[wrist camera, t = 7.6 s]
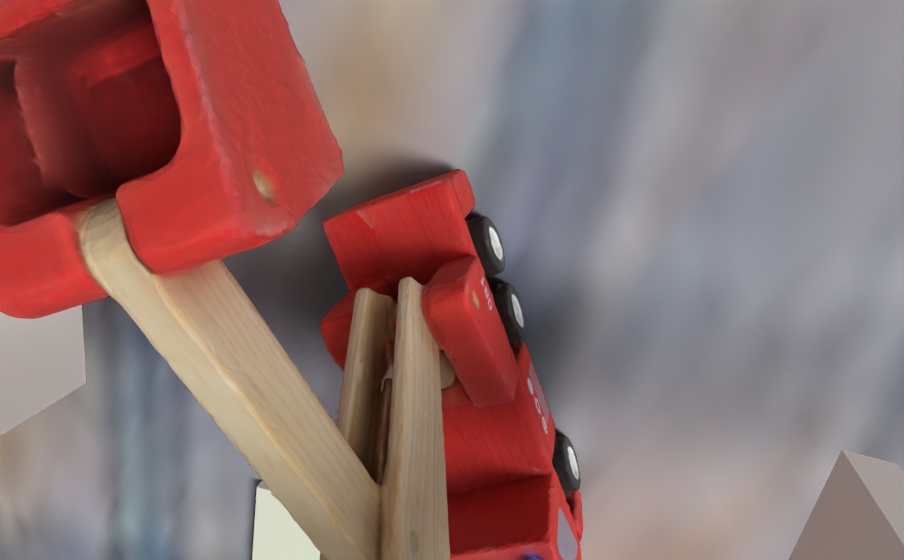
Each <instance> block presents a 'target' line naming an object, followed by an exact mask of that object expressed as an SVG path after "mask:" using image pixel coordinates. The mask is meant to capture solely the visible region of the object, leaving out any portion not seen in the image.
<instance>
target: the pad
mask: <svg viewBox="0 0 904 560" xmlns="http://www.w3.org/2000/svg"><path fill="white" fill-rule="evenodd" d="M252 560H320V551H319V550H318V549H317V548H316V547H315V546H314V544H313V543H312V541H311V540H310V538H309V537H308V536H307V535H306V534H305V533H304V532H303V530H302V529H301V528H300V526H299V525H298V524H297V522H295V521H294V520H293V518H292V517H291V515H290V514H289V512H288V511H287V509H286V508H285V507H284V506H283V505H282V504H281V502H280V501H279V500H278V499H276V498H275V497H274V496H272V495H271V491H270V489H269V488H268V487H267V486H266V484H265V482H264V481H261V482H260V484H259V485H258V486H257V492H256V508H255V523H254V539H253V554H252Z"/></svg>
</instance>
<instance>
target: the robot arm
mask: <svg viewBox="0 0 904 560" xmlns="http://www.w3.org/2000/svg"><path fill="white" fill-rule="evenodd" d="M85 383H86V369H85V353H84V336H83V320H82V305H79V306H76V307H73V308H70V309H67V310H64V311H61V312H57V313H54V314H51V315H48V316H44V317H41V318H36V319H24V318H14V317H11V316H8V315H5V314H4V313H2V312H0V436H1V435H3V434H4V433H6V432H8V431H9V430H11V429H12V428H14V427H16V426H17V425H19V424H21V423H22V422H24V421H25V420H27V419H29V418H30V417H32V416H34V415H35V414H37V413H38V412H40V411H42V410H43V409H45V408H47V407H48V406H50V405H51V404H53V403H55V402H56V401H58V400H59V399H61V398H63V397H64V396H66V395H68V394H69V393H71V392H72V391H74V390H76V389H77V388H79V387H81V386H82V385H84V384H85ZM789 560H904V472H903V471H902V470H901V468H900V467H899V466H898V465H897V464H896V463H892V462H888V461H884V460H880V459H876V458H872V457H868V456H865V455H861V454H857V453H853V452H849V451H845V450H842V451H841V453H840V455H839V457H838V459H837V461H836V463H835V466H834V468H833V470H832V472H831V474H830V476H829V478H828V480H827V482H826V484H825V486H824V488H823V490H822V492H821V494H820V496H819V498H818V501H817V503H816V505H815V507H814V509H813V511H812V513H811V515H810V517H809V519H808V521H807V523H806V525H805V527H804V529H803V531H802V533H801V536H800V538H799V540H798V542H797V544H796V546H795V548H794V550H793V552H792V554H791V556H790V558H789Z"/></svg>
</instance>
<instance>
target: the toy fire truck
mask: <svg viewBox="0 0 904 560" xmlns="http://www.w3.org/2000/svg"><path fill="white" fill-rule="evenodd" d="M343 172H344V166H343V162H342V150H341V148H340V147H339V145H338V143H337V140H336V138H335V137H334V135H333V133H332V131H331V129H330V126H329V124H328V122H327V119H326V117H325V114H324V111H323V109H322V107H321V104H320V102H319V100H318V98H317V95H316V93H315V90H314V87H313V84H312V82H311V80H310V77H309V74H308V71H307V68H306V64H305V61H304V60H303V58H302V56H301V55H300V53H299V52H298V50H297V48H296V46H295V43H294V41H293V39H292V36H291V34H290V30H289V26H288V22H287V21H286V19H285V17H284V15H283V13H282V11H281V7H280V4H279V1H278V0H0V312H2V313H4V314H5V315H8V316H11V317H14V318H24V319H36V318H41V317H44V316H48V315H51V314H54V313H57V312H61V311H64V310H67V309H70V308H73V307H76V306H79V305H82V304H85V303H87V302H90V301H96V300H101V299H104V298H105V297H107V296H111V297H113V298H114V299H115V300H116V301H117V302H118V303H119V304H121V306H122V307H123V308H124V309H125V310H126V312H127V313H128V314H129V315H130V316H131V318H132V319H133V320H134V321H135V323H136V324H137V325H138V326H139V328H140V329H141V330H142V332H143V333H144V334H145V335H146V337H147V338H148V340H149V341H150V343H151V344H152V346H153V347H154V348H155V349H156V350H157V351H158V352H159V353H160V354H161V355H162V356H163V358H164V359H165V360H166V361H167V362H168V364H169V365H170V367H171V368H172V369H173V371H174V372H175V373H176V374H177V376H178V377H179V378H180V379H181V381H182V382H183V383H184V384H185V385H186V386H187V388H188V389H189V390H190V391H191V392H192V394H193V395H194V396H195V397H196V399H197V400H198V401H199V403H200V404H201V405H202V407H203V408H204V409H205V410H206V411H207V412H208V413H209V414H210V416H211V417H212V418H213V419H214V421H215V422H216V424H217V425H218V426H219V427H220V428H221V429H222V430H223V431H224V432H225V434H226V435H227V436H228V438H229V439H230V441H231V442H232V444H233V445H234V446H235V447H236V448H237V450H238V451H239V452H240V453H241V454H242V455H243V456H244V457H245V459H246V460H247V462H248V463H249V464H250V465H251V466H252V467H253V468H254V470H255V471H256V473H257V474H258V475H259V477H260V478H261V479H262V480H263V481H264V482H265V484H266V486H267V487H268V488H269V489H270V491H271V495H272V496H274V497H275V498H276V499H278V500H279V501H280V502H281V504H282V505H283V506H284V507H285V508H286V509H287V511H288V512H289V514H290V515H291V517H292V518H293V520H294V521H295V522H297V524H298V525H299V526H300V528H301V529H302V530H303V532H304V533H305V534H306V535H307V536H308V537H309V538H310V540H311V541H312V543H313V544H314V546H315V547H316V548H317V549H318V550H319V551H320V560H581V548H580V540H581V538H582V532H583V519H582V502H581V495H580V493H579V491H578V489H579V488H580V481H581V480H580V471H579V466H578V460H577V457H576V453H575V451H574V448H573V446H572V444H571V442H570V440H569V439H568V437H566V436H558V437H555V434H556V433H555V424H554V421H553V418H552V416H551V413H550V410H549V408H548V403H547V401H546V398H545V395H544V392H543V390H542V387H541V385H540V382H539V379H538V377H537V374H536V370H535V368H534V367H533V363H532V360H531V356H530V353H529V351H528V348H527V346H526V344H525V343H524V342H523V341H522V340H520V339H522V338H524V336H525V332H526V331H525V327H526V324H525V319H524V314H523V310H522V306H521V302H520V298H519V296H518V294H517V292H516V290H515V289H514V287H513V286H512V285H510V284H509V283H502V284H499V283H498V284H496V285H495V286H494V288H493V289H492V291H491V290H490V288H489V285H488V282H487V280H486V277H485V276H492V275H496V274H498V273H501V272H502V271H503V270H504V267H505V258H504V251H503V247H502V243H501V240H500V237H499V234H498V232H497V229H496V227H495V226H494V224H493V223H492V221H491V220H490V219H489V218H488V217H477V218H473V219H470V220H466V221H465V217H466V216H467V215H468V214H469V213H470V211H471V210H472V209H473V208H474V207H475V199H474V195H473V192H472V189H471V186H470V183H469V180H468V178H467V175H466V173H465V171H463V170H460V169H457V170H453V171H450V172H448V173H445V174H443V175H440V176H437V177H434V178H431V179H428V180H425V181H423V182H420V183H417V184H415V185H412V186H409V187H405V188H403V189H400V190H397V191H394V192H391V193H388V194H385V195H382V196H379V197H377V198H374V199H372V200H369V201H366V202H363V203H360V204H357V205H354V206H352V207H350V208H348V209H347V210H344V211H342V212H341V213H339V214H337V215H334V216H330V217H328V218H325V219H324V220H323V223H322V225H323V228H324V231H325V234H326V236H327V238H328V241H329V243H330V245H331V248H332V250H333V252H334V255H335V258H336V260H337V262H338V264H339V267H340V269H341V271H342V274H343V276H344V278H345V281H346V283H347V285H348V288H349V290H350V293H348V294H347V295H346V296H345V297H344V298H343V299H342V300H340V301H339V302H338V303H337V304H335V305H334V306H333V307H332V309H331V310H330V311H329V312H328V313H327V315H326V316H325V317H324V318H323V319H322V320H321V323H320V329H321V334H322V336H323V338H324V342H325V344H326V346H327V349H328V351H329V353H330V354H331V356H332V357H333V359H334V361H335V362H336V363H337V364H338V365H339V366H340V367H341V369H342V370H343V371H344V376H343V386H342V392H341V398H340V405H339V411H338V419H337V426H336V425H335V423H334V422H333V420H332V419H331V417H330V416H329V414H328V413H327V411H326V410H325V408H324V407H323V405H322V404H321V402H320V401H319V399H318V398H317V396H316V395H315V393H314V391H313V390H312V388H311V387H310V386H309V384H308V383H307V381H306V380H305V379H304V377H303V376H302V374H301V373H300V371H299V370H298V369H297V367H296V366H295V364H294V363H293V362H292V360H291V359H290V357H289V356H288V354H287V353H286V351H285V350H284V348H283V347H282V346H281V344H280V343H279V341H278V340H277V338H276V337H275V335H274V334H273V332H272V331H271V329H270V328H269V326H268V325H267V323H266V322H265V320H264V319H263V318H262V316H261V315H260V313H259V312H258V311H257V309H256V308H255V306H254V305H253V303H252V302H251V301H250V299H249V298H248V296H247V295H246V293H245V292H244V291H243V289H242V288H241V286H240V285H239V283H238V282H237V280H236V279H235V277H234V276H233V275H232V273H231V272H230V271H229V270H228V268H227V267H226V266H225V264H224V262H223V261H222V258H225V257H227V256H230V255H232V254H236V253H240V252H244V251H247V250H250V249H253V248H257V247H260V246H262V245H264V244H266V243H268V242H270V241H273V240H276V239H278V238H279V237H281V236H282V235H284V234H285V233H287V232H289V231H290V230H292V229H294V228H295V226H296V225H297V222H298V221H299V220H300V219H301V217H302V216H303V215H304V214H305V213H306V212H307V211H308V209H310V208H312V207H314V206H315V204H316V203H317V202H318V200H320V199H321V198H323V197H324V196H325V195H326V194H327V192H328V191H329V190H330V188H331V187H332V186H333V185H334V184H335V183H336V181H337V179H338V178H340V177H341V176H342V174H343Z"/></svg>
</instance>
